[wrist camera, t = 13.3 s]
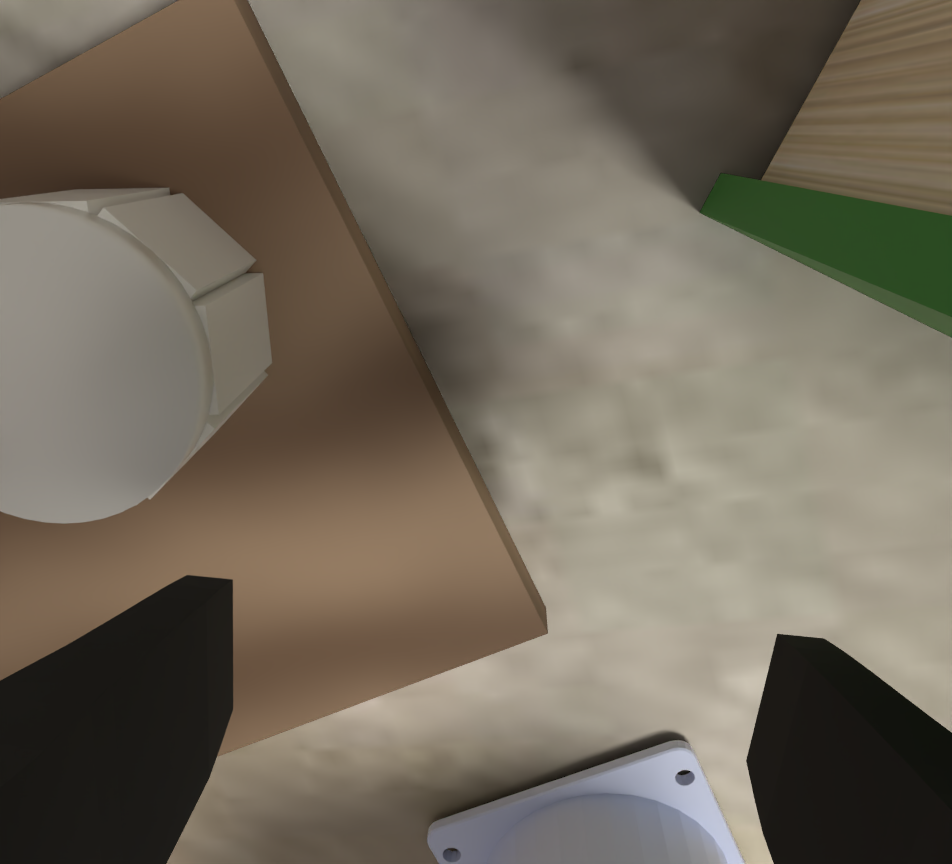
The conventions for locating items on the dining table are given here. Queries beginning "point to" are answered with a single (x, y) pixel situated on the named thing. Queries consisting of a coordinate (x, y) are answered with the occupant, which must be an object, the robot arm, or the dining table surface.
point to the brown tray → (267, 404)
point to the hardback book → (866, 165)
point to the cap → (117, 346)
